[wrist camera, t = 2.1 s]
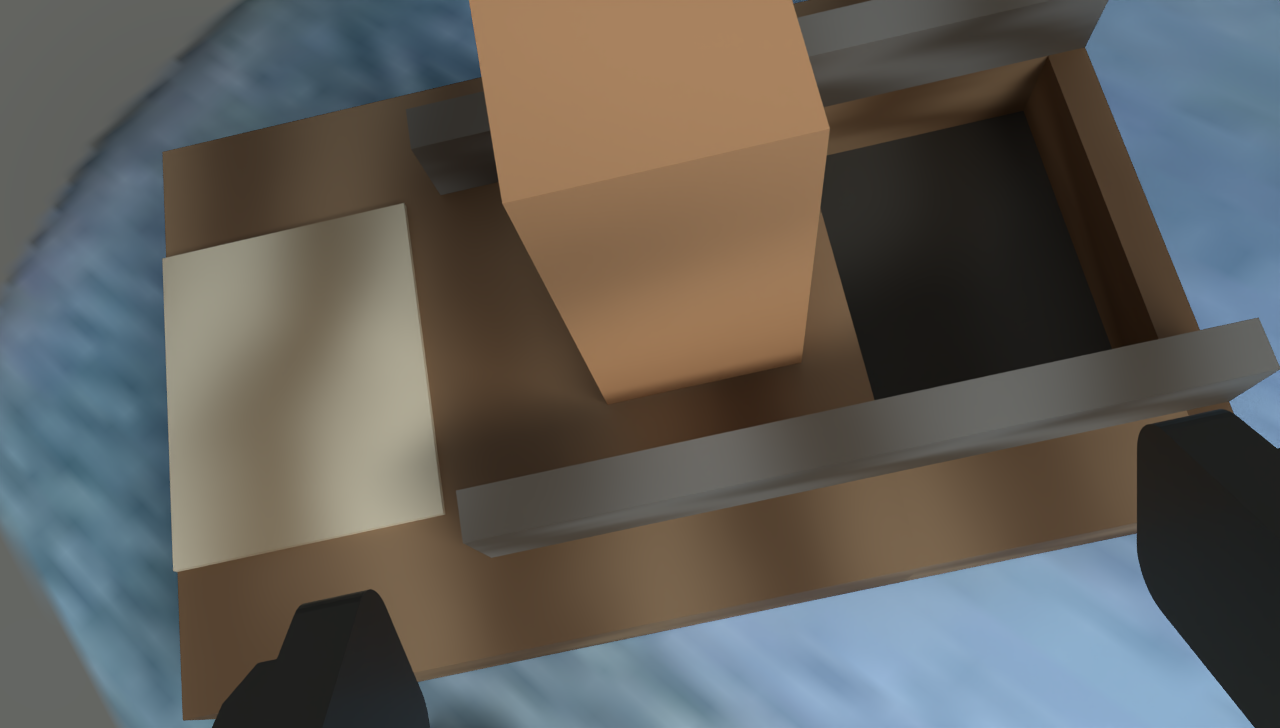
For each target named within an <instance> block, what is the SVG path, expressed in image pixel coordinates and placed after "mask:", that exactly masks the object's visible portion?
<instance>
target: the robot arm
mask: <svg viewBox="0 0 1280 728" xmlns="http://www.w3.org/2000/svg"><path fill="white" fill-rule="evenodd" d="M1137 553H1138V559H1139V564H1140V568H1141V571H1142V575H1143V578H1144V580H1145V583H1146V585H1147V588H1148V590H1149V592H1150V594H1151V596H1152V598H1153V600H1154V601H1155V603H1156V604H1157V606H1158V607H1159V609H1160V610H1161V611H1162V613H1163V614H1164V615H1165V616H1166V618H1167V619H1168V620H1169V621H1170V623H1171V624H1172V625H1173V626H1174V628H1175V629H1176V630H1177V631H1178V633H1179V634H1180V635H1181V636H1182V638H1183V639H1184V640H1185V641H1186V643H1187V644H1188V645H1189V646H1190V648H1191V649H1192V650H1193V651H1194V653H1195V654H1196V655H1197V656H1198V658H1199V659H1200V660H1201V661H1202V662H1203V664H1204V665H1205V666H1206V667H1207V669H1208V670H1209V671H1210V672H1211V674H1212V675H1213V676H1214V677H1215V679H1216V680H1217V681H1218V682H1219V684H1220V685H1221V686H1222V687H1223V689H1224V690H1225V691H1226V692H1227V694H1228V695H1229V696H1230V697H1231V699H1232V700H1233V701H1234V702H1235V704H1236V705H1237V706H1238V707H1239V709H1240V710H1241V711H1242V712H1243V714H1244V715H1245V716H1246V717H1247V719H1248V720H1249V721H1250V722H1251V724H1252V725H1253V726H1254V727H1255V728H1280V448H1278V449H1277V448H1276V447H1274V446H1273V445H1272V444H1271V443H1270V442H1268V441H1267V440H1266V439H1265V438H1263V437H1262V436H1261V435H1260V434H1258V433H1257V432H1256V431H1255V430H1253V429H1252V428H1251V427H1250V426H1249V425H1247V424H1246V423H1245V422H1244V421H1242V420H1241V419H1240V418H1239V417H1237V416H1236V415H1235V414H1233V413H1232V412H1230V411H1228V410H1225V409H1218V410H1213V411H1208V412H1204V413H1199V414H1194V415H1190V416H1185V417H1180V418H1176V419H1171V420H1166V421H1162V422H1157V423H1152V424H1148V425H1145V426H1144V427H1143V428H1142V429H1141V431H1140V433H1139V436H1138V441H1137ZM212 728H430V725H429V718H428V712H427V708H426V704H425V700H424V697H423V694H422V691H421V689H420V687H419V684H418V682H417V680H416V677H415V675H414V672H413V670H412V668H411V665H410V663H409V660H408V658H407V656H406V653H405V651H404V649H403V646H402V644H401V641H400V639H399V637H398V634H397V632H396V629H395V627H394V625H393V622H392V620H391V618H390V615H389V613H388V610H387V608H386V606H385V604H384V602H383V600H382V598H381V597H380V595H379V594H378V593H377V592H376V591H375V590H372V589H369V590H364V591H360V592H355V593H350V594H346V595H341V596H336V597H332V598H327V599H323V600H318V601H313V602H309V603H304V604H302V605H300V606H299V607H298V608H297V610H296V612H295V614H294V616H293V619H292V621H291V624H290V626H289V629H288V631H287V634H286V637H285V639H284V642H283V644H282V647H281V650H280V652H279V655H278V657H277V659H274V660H269V661H264V662H260V663H257V664H256V665H255V667H254V668H253V669H252V670H251V671H250V672H249V673H248V675H247V676H246V677H245V678H244V679H243V680H242V682H241V683H240V684H239V685H238V686H237V687H236V689H235V690H234V691H233V692H232V693H231V694H230V696H229V697H228V698H227V699H226V700H225V701H224V703H223V704H222V706H221V708H220V710H219V713H218V715H217V717H216V720H215V722H214V724H213V726H212Z"/></svg>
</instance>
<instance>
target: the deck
mask: <svg viewBox="0 0 1280 728" xmlns="http://www.w3.org/2000/svg"><path fill="white" fill-rule="evenodd" d="M1107 2H1108V0H808V1H804V2H799V3H795V4H793V5H794V9H795V12H796V15H797V19H798V22H799V26H800V29H801V32H802V36H803V39H804V43H805V46H806V49H807V53H808V56H809V60H810V63H811V66H812V70H813V73H814V77H815V80H816V83H817V87H818V90H819V94H820V97H821V100H822V104H823V107H824V110H825V114H826V117H827V121H828V124H829V127H830V132H829V140H828V148H827V156H826V165H825V173H824V181H823V189H822V197H821V206H820V214H819V222H818V230H817V238H816V247H815V255H814V263H813V271H812V280H811V288H810V296H809V304H808V312H807V321H806V329H805V337H804V345H803V353H802V362H801V363H797V364H792V365H787V366H783V367H778V368H774V369H769V370H765V371H760V372H755V373H751V374H746V375H742V376H737V377H732V378H728V379H723V380H719V381H714V382H709V383H705V384H700V385H696V386H691V387H687V388H682V389H677V390H673V391H668V392H664V393H659V394H654V395H650V396H645V397H641V398H636V399H631V400H627V401H622V402H618V403H613V404H609V405H607V403H606V401H605V399H604V397H603V395H602V393H601V391H600V389H599V387H598V385H597V384H596V382H595V380H594V378H593V376H592V374H591V372H590V370H589V368H588V366H587V364H586V363H585V361H584V359H583V357H582V355H581V353H580V351H579V349H578V347H577V345H576V343H575V341H574V340H573V338H572V336H571V334H570V332H569V330H568V328H567V326H566V324H565V322H564V320H563V319H562V317H561V315H560V313H559V311H558V309H557V307H556V305H555V303H554V301H553V299H552V298H551V296H550V294H549V292H548V290H547V288H546V286H545V284H544V282H543V280H542V278H541V277H540V275H539V273H538V271H537V269H536V267H535V265H534V263H533V261H532V259H531V257H530V256H529V254H528V252H527V250H526V248H525V246H524V244H523V242H522V240H521V238H520V236H519V235H518V233H517V231H516V229H515V227H514V225H513V223H512V221H511V219H510V217H509V215H508V214H507V212H506V210H505V208H504V206H503V204H502V199H501V192H500V186H499V180H498V174H497V168H496V162H495V156H494V150H493V143H492V137H491V131H490V125H489V119H488V113H487V107H486V101H485V94H484V88H483V82H482V77H480V78H476V79H472V80H467V81H463V82H459V83H454V84H450V85H446V86H442V87H437V88H433V89H429V90H425V91H420V92H416V93H412V94H408V95H403V96H399V97H395V98H391V99H386V100H382V101H378V102H374V103H369V104H365V105H361V106H357V107H352V108H348V109H344V110H340V111H335V112H331V113H327V114H323V115H318V116H314V117H310V118H305V119H301V120H297V121H293V122H288V123H284V124H280V125H276V126H271V127H267V128H263V129H259V130H254V131H250V132H246V133H242V134H237V135H233V136H229V137H225V138H220V139H216V140H212V141H208V142H203V143H199V144H195V145H191V146H186V147H182V148H178V149H174V150H169V151H165V152H163V180H164V208H165V236H166V258H163V259H162V260H163V289H164V318H165V347H166V377H167V406H168V435H169V464H170V493H171V522H172V551H173V571H175V572H178V598H179V626H180V654H181V681H182V709H183V720H206V719H216V717H217V715H218V713H219V710H220V708H221V706H222V704H223V703H224V701H225V700H226V699H227V698H228V697H229V696H230V694H231V693H232V692H233V691H234V690H235V689H236V687H237V686H238V685H239V684H240V683H241V682H242V680H243V679H244V678H245V677H246V676H247V675H248V673H249V672H250V671H251V670H252V669H253V668H254V667H255V665H256V664H257V663H260V662H264V661H269V660H274V659H277V657H278V655H279V652H280V650H281V647H282V644H283V642H284V639H285V637H286V634H287V631H288V629H289V626H290V624H291V621H292V619H293V616H294V614H295V612H296V610H297V608H298V607H299V606H300V605H302V604H304V603H309V602H313V601H318V600H323V599H327V598H332V597H336V596H341V595H346V594H350V593H355V592H360V591H364V590H369V589H372V590H375V591H376V592H377V593H378V594H379V595H380V597H381V598H382V600H383V602H384V604H385V606H386V608H387V610H388V613H389V615H390V618H391V620H392V622H393V625H394V627H395V629H396V632H397V634H398V637H399V639H400V641H401V644H402V646H403V649H404V651H405V653H406V656H407V658H408V660H409V663H410V665H411V668H412V670H413V672H414V675H415V677H416V680H417V682H420V681H425V680H430V679H434V678H439V677H444V676H449V675H454V674H459V673H463V672H468V671H473V670H478V669H483V668H488V667H492V666H497V665H502V664H507V663H512V662H517V661H521V660H526V659H531V658H536V657H541V656H546V655H550V654H555V653H560V652H565V651H570V650H575V649H579V648H584V647H589V646H594V645H599V644H604V643H608V642H613V641H618V640H623V639H628V638H633V637H637V636H642V635H647V634H652V633H657V632H662V631H667V630H671V629H676V628H681V627H686V626H691V625H696V624H700V623H705V622H710V621H715V620H720V619H725V618H729V617H734V616H739V615H744V614H749V613H754V612H758V611H763V610H768V609H773V608H778V607H783V606H787V605H792V604H797V603H802V602H807V601H812V600H816V599H821V598H826V597H831V596H836V595H841V594H845V593H850V592H855V591H860V590H865V589H870V588H874V587H879V586H884V585H889V584H894V583H899V582H903V581H908V580H913V579H918V578H923V577H928V576H932V575H937V574H942V573H947V572H952V571H957V570H961V569H966V568H971V567H976V566H981V565H986V564H991V563H995V562H1000V561H1005V560H1010V559H1015V558H1020V557H1024V556H1029V555H1034V554H1039V553H1044V552H1049V551H1053V550H1058V549H1063V548H1068V547H1073V546H1078V545H1082V544H1087V543H1092V542H1097V541H1102V540H1107V539H1111V538H1116V537H1121V536H1126V535H1131V534H1136V533H1137V441H1138V436H1139V433H1140V431H1141V429H1142V428H1143V427H1144V426H1145V425H1148V424H1152V423H1157V422H1162V421H1166V420H1171V419H1176V418H1180V417H1185V416H1190V415H1194V414H1199V413H1204V412H1208V411H1213V410H1218V409H1225V410H1228V411H1230V412H1232V413H1233V410H1232V408H1231V405H1230V403H1229V401H1230V400H1232V399H1234V398H1235V397H1237V396H1238V395H1240V394H1242V393H1243V392H1245V391H1246V390H1248V389H1250V388H1251V387H1253V386H1254V385H1256V384H1257V383H1259V382H1261V381H1262V380H1264V379H1265V378H1267V377H1269V376H1270V375H1272V374H1273V373H1275V372H1276V371H1278V370H1280V366H1279V364H1278V362H1277V359H1276V357H1275V355H1274V352H1273V350H1272V348H1271V345H1270V343H1269V341H1268V338H1267V336H1266V334H1265V331H1264V329H1263V327H1262V324H1261V322H1260V320H1259V318H1254V319H1250V320H1245V321H1241V322H1236V323H1231V324H1227V325H1222V326H1217V327H1213V328H1208V329H1203V330H1200V329H1199V327H1198V324H1197V322H1196V319H1195V317H1194V314H1193V312H1192V309H1191V307H1190V305H1189V302H1188V300H1187V297H1186V295H1185V292H1184V290H1183V287H1182V285H1181V282H1180V280H1179V277H1178V275H1177V273H1176V270H1175V268H1174V265H1173V263H1172V260H1171V258H1170V255H1169V253H1168V250H1167V248H1166V245H1165V243H1164V241H1163V238H1162V236H1161V233H1160V231H1159V228H1158V226H1157V223H1156V221H1155V218H1154V216H1153V213H1152V211H1151V209H1150V206H1149V204H1148V201H1147V199H1146V196H1145V194H1144V191H1143V189H1142V186H1141V184H1140V182H1139V179H1138V177H1137V174H1136V172H1135V169H1134V167H1133V164H1132V162H1131V159H1130V157H1129V154H1128V152H1127V150H1126V147H1125V145H1124V142H1123V140H1122V137H1121V135H1120V132H1119V130H1118V127H1117V125H1116V122H1115V120H1114V118H1113V115H1112V113H1111V110H1110V108H1109V105H1108V103H1107V100H1106V98H1105V95H1104V93H1103V90H1102V88H1101V86H1100V83H1099V81H1098V78H1097V76H1096V73H1095V71H1094V68H1093V66H1092V63H1091V61H1090V58H1089V56H1088V54H1087V51H1086V49H1085V46H1086V44H1087V42H1088V40H1089V38H1090V36H1091V34H1092V32H1093V30H1094V28H1095V26H1096V24H1097V22H1098V20H1099V18H1100V16H1101V14H1102V12H1103V10H1104V8H1105V6H1106V4H1107ZM1233 414H1234V413H1233Z"/></svg>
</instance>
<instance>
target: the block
mask: <svg viewBox="0 0 1280 728" xmlns="http://www.w3.org/2000/svg"><path fill="white" fill-rule="evenodd" d="M469 2H470V9H471V15H472V21H473V27H474V33H475V39H476V45H477V52H478V58H479V64H480V70H481V76H482V82H483V88H484V94H485V101H486V107H487V113H488V119H489V125H490V131H491V137H492V143H493V150H494V156H495V162H496V168H497V174H498V180H499V186H500V192H501V199H502V204H503V206H504V208H505V210H506V212H507V214H508V215H509V217H510V219H511V221H512V223H513V225H514V227H515V229H516V231H517V233H518V235H519V236H520V238H521V240H522V242H523V244H524V246H525V248H526V250H527V252H528V254H529V256H530V257H531V259H532V261H533V263H534V265H535V267H536V269H537V271H538V273H539V275H540V277H541V278H542V280H543V282H544V284H545V286H546V288H547V290H548V292H549V294H550V296H551V298H552V299H553V301H554V303H555V305H556V307H557V309H558V311H559V313H560V315H561V317H562V319H563V320H564V322H565V324H566V326H567V328H568V330H569V332H570V334H571V336H572V338H573V340H574V341H575V343H576V345H577V347H578V349H579V351H580V353H581V355H582V357H583V359H584V361H585V363H586V364H587V366H588V368H589V370H590V372H591V374H592V376H593V378H594V380H595V382H596V384H597V385H598V387H599V389H600V391H601V393H602V395H603V397H604V399H605V401H606V403H607V405H609V404H613V403H618V402H622V401H627V400H631V399H636V398H641V397H645V396H650V395H654V394H659V393H664V392H668V391H673V390H677V389H682V388H687V387H691V386H696V385H700V384H705V383H709V382H714V381H719V380H723V379H728V378H732V377H737V376H742V375H746V374H751V373H755V372H760V371H765V370H769V369H774V368H778V367H783V366H787V365H792V364H797V363H801V362H802V353H803V345H804V337H805V329H806V321H807V312H808V304H809V296H810V288H811V280H812V271H813V263H814V255H815V247H816V238H817V230H818V222H819V214H820V206H821V197H822V189H823V181H824V173H825V165H826V156H827V148H828V140H829V132H830V127H829V124H828V121H827V117H826V114H825V110H824V107H823V104H822V100H821V97H820V94H819V90H818V87H817V83H816V80H815V77H814V73H813V70H812V66H811V63H810V60H809V56H808V53H807V49H806V46H805V43H804V39H803V36H802V32H801V29H800V26H799V22H798V19H797V15H796V12H795V9H794V5H793V2H792V0H469Z"/></svg>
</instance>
